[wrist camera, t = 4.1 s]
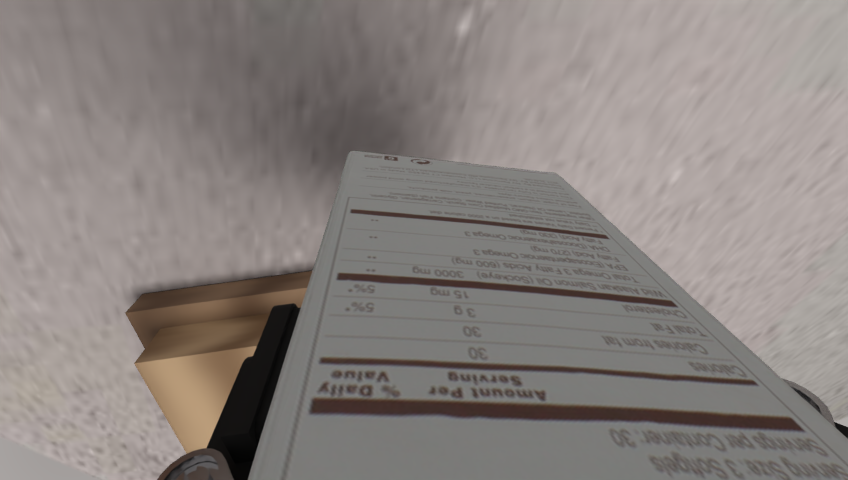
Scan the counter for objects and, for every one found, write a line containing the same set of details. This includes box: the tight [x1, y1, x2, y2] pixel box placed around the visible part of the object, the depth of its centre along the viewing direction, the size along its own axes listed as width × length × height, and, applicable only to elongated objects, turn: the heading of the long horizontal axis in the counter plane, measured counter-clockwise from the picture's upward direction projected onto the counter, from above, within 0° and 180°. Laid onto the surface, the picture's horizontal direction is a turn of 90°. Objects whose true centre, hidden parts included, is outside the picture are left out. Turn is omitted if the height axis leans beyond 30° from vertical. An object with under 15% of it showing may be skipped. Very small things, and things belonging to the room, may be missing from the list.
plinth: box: [126, 271, 312, 454], centre depth 27 cm, size 14×14×5 cm
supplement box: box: [248, 151, 848, 480], centre depth 10 cm, size 7×7×13 cm
